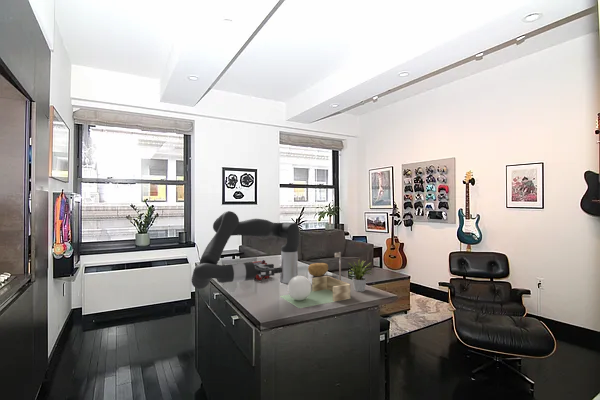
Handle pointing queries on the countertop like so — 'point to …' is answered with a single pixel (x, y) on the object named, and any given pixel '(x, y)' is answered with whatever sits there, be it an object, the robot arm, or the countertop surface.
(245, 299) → the countertop surface
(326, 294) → the green mat
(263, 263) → the toy fire truck
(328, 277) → the wooden u-shaped frame
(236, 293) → the countertop surface
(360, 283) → the house plant
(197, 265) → the robot arm
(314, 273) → the potato
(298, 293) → the ball
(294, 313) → the countertop surface
